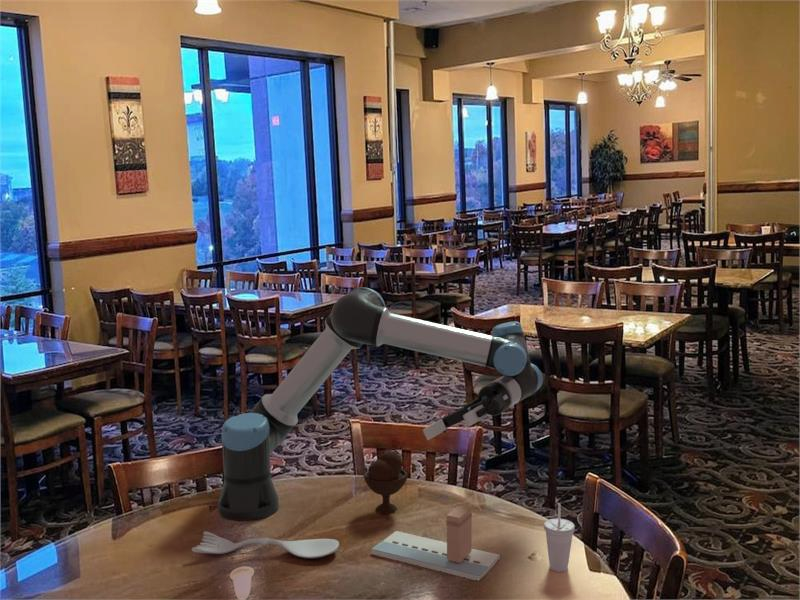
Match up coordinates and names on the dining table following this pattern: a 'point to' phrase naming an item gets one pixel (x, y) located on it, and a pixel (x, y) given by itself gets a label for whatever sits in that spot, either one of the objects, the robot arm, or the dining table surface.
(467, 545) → the small tan carton
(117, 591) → the dining table surface
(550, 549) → the smoothie
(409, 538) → the board
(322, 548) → the spoon
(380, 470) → the ice cream bowl
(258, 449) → the robot arm
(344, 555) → the dining table surface
